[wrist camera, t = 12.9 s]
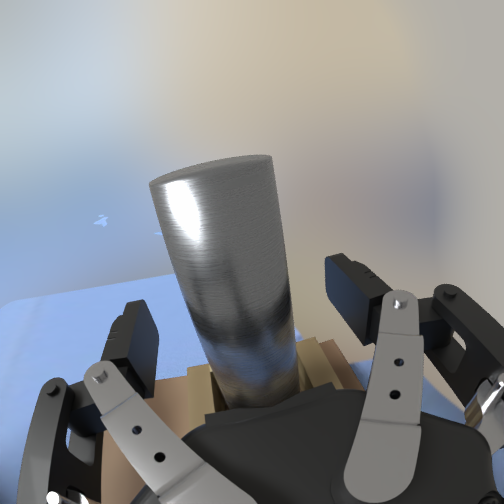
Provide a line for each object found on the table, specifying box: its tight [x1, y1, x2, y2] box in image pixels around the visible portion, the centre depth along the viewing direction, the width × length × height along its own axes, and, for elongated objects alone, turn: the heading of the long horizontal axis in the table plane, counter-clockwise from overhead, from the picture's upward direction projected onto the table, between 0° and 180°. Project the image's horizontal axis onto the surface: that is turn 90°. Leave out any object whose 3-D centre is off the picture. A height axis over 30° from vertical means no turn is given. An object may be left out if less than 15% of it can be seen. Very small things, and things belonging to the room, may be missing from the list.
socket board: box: [101, 337, 365, 504], centre depth 14 cm, size 20×15×6 cm
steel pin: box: [149, 155, 300, 410], centre depth 12 cm, size 4×4×16 cm
